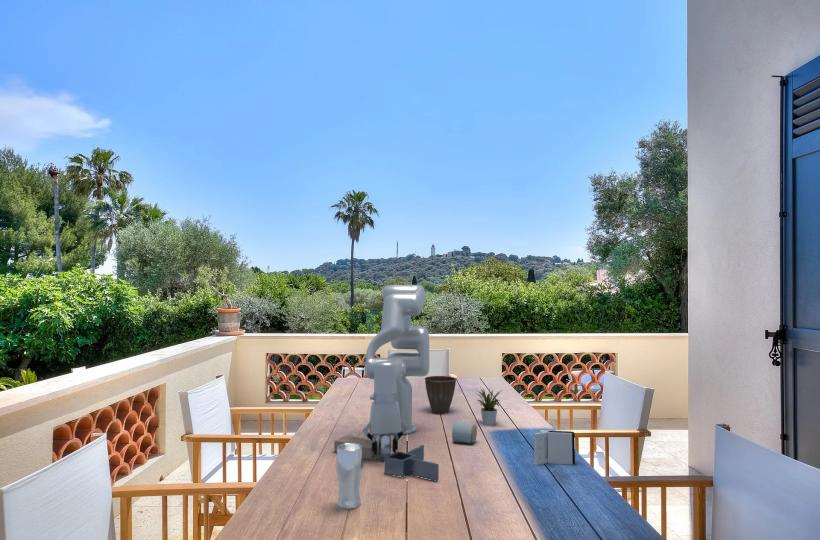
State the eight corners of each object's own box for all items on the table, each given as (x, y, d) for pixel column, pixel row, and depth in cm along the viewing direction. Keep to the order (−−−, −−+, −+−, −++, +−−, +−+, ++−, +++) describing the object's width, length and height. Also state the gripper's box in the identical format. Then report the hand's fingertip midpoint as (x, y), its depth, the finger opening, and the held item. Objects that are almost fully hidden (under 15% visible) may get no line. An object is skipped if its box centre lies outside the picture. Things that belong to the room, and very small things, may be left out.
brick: (385, 454, 172) (385, 440, 172) (371, 461, 165) (371, 446, 165) (347, 447, 180) (347, 434, 181) (333, 453, 173) (333, 439, 174)
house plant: (465, 426, 208) (465, 387, 209) (473, 418, 221) (473, 382, 222) (499, 429, 203) (498, 389, 204) (505, 422, 216) (505, 384, 217)
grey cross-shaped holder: (384, 473, 152) (384, 457, 153) (413, 458, 167) (414, 443, 167) (431, 485, 143) (431, 467, 143) (458, 468, 157) (458, 452, 158)
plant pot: (461, 411, 236) (461, 377, 237) (446, 417, 223) (446, 382, 224) (434, 407, 244) (434, 374, 245) (418, 413, 231) (418, 379, 232)
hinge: (535, 465, 160) (534, 434, 161) (530, 460, 166) (529, 429, 166) (577, 464, 161) (576, 433, 162) (570, 459, 166) (570, 429, 167)
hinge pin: (374, 460, 164) (374, 427, 165) (383, 456, 169) (383, 424, 169) (386, 463, 162) (386, 430, 162) (395, 459, 166) (395, 426, 166)
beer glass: (336, 499, 133) (337, 443, 134) (362, 498, 133) (362, 442, 134) (334, 510, 126) (335, 451, 127) (362, 509, 126) (362, 450, 127)
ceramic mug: (473, 446, 181) (473, 425, 181) (451, 444, 183) (451, 423, 184) (479, 439, 190) (479, 418, 191) (458, 437, 193) (458, 417, 194)
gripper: (360, 401, 161) (360, 457, 160) (412, 399, 164) (412, 454, 163) (358, 397, 168) (358, 450, 167) (407, 395, 172) (407, 447, 171)
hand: (384, 452), depth 165 cm, fingers open, 5 cm apart
